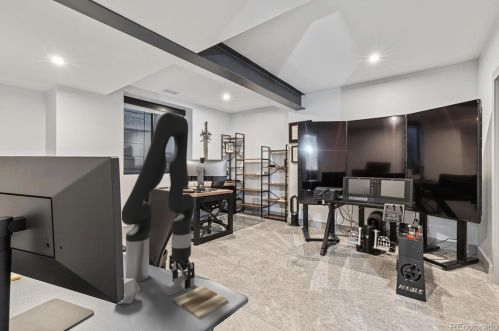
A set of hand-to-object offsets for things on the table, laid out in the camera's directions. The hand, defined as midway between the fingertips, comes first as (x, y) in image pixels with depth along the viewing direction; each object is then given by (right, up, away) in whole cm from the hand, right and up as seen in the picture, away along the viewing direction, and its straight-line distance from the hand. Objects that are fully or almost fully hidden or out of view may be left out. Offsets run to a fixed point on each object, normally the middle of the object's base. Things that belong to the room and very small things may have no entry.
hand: (181, 284), depth 95 cm
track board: (+9, -2, -8) cm, 13 cm away
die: (-18, -2, -8) cm, 20 cm away
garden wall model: (0, -2, 0) cm, 2 cm away
